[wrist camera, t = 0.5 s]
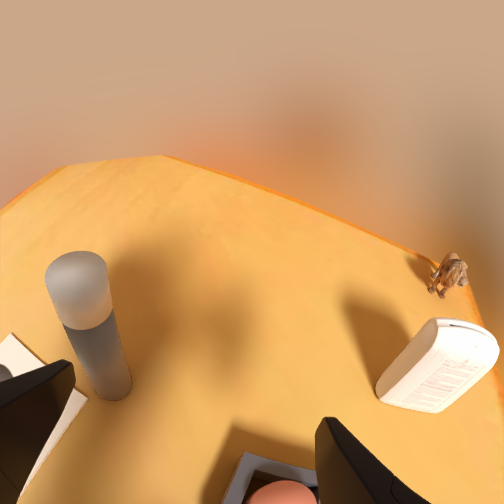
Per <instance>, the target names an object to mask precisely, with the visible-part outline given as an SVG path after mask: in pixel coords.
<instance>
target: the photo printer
mask: <svg viewBox="0 0 504 504" xmlns="http://www.w3.org/2000/svg"><path fill="white" fill-rule="evenodd" d="M498 354H499V347H498V345H497V341H496V339H495V338H494V337H493V335H492V334H490V333H489V332H488V331H487V330H485V329H484V328H482V327H480V326H478V325H476V324H474V323H471V322H468V321H465V320H461V319H455V318H446V317H439V318H431V319H430V320H428V321H427V322H426V323H425V324H424V325H423V327H422V328H421V329H420V330H419V332H418V333H417V334H416V335H415V337H414V338H413V339H412V340H411V341H410V343H409V344H408V345H407V346H406V347H405V349H404V350H403V351H402V352H401V353H400V354H399V355H398V357H397V358H396V359H395V360H394V361H393V362H392V363H391V364H390V366H389V367H388V368H387V369H386V370H385V371H384V372H383V373H382V375H381V378H380V379H379V380H378V381H377V383H376V388H375V390H376V394H377V396H378V398H380V401H382V402H385V403H387V404H390V405H394V406H398V407H403V408H407V409H412V410H417V411H422V412H428V413H439V412H441V411H442V410H444V409H445V408H446V407H448V406H449V405H450V404H451V403H453V402H454V401H455V400H456V399H458V398H459V397H460V396H461V395H462V394H464V393H465V392H466V391H467V390H468V389H469V388H470V387H472V386H473V385H474V384H475V383H476V382H477V381H478V380H479V379H480V378H482V377H483V376H484V375H485V374H486V373H487V372H488V371H489V370H490V369H491V368H492V367H493V365H494V364H495V362H496V360H497V358H498Z"/></svg>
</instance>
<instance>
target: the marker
mask: <svg viewBox="0 0 504 504" xmlns="http://www.w3.org/2000/svg"><path fill="white" fill-rule="evenodd" d="M45 283H46V286H47V289H48V292H49V295H50V297H51V300H52V303H53V305H54V308H55V310H56V313H57V315H58V318H59V320H60V321H61V322H62V324H63V326H64V329H65V331H66V333H67V336H68V338H69V340H70V342H71V344H72V347H73V349H74V351H75V353H76V355H77V357H78V359H79V361H80V363H81V365H82V367H83V369H84V371H85V373H86V375H87V376H88V378H89V380H90V382H91V384H92V386H93V387H94V389H95V391H96V393H97V394H98V395H99V396H100V397H102V398H103V399H106V400H109V401H117V400H121V399H123V398H125V397H126V396H127V395H128V394H129V393H130V391H131V388H132V379H131V376H130V372H129V369H128V366H127V362H126V359H125V355H124V352H123V348H122V345H121V341H120V337H119V333H118V329H117V325H116V321H115V316H114V312H113V308H112V307H113V301H112V296H111V291H110V285H109V280H108V274H107V268H106V264H105V261H104V260H103V259H102V258H101V257H100V256H99V255H97V254H95V253H92V252H88V251H75V252H70V253H67V254H64V255H62V256H60V257H58V258H57V259H56V260H54V261H53V262H52V263H51V264H50V265H49V267H48V268H47V270H46V273H45Z"/></svg>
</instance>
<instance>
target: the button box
mask: <svg viewBox="0 0 504 504" xmlns="http://www.w3.org/2000/svg"><path fill="white" fill-rule="evenodd" d="M252 476H253V477H257V478H260V479H264V480H267V481H271V482H277V481H283V480H288V481H295V482H298V483H300V484H303V485H304V486H306V487H307V488H308V489H309V490H310V491H311V492H312V493H313V495H314V496H315V499H316V502H317V504H320V497H319V490H318V484H317V477H316V471H314V470H309V469H305V468H301V467H296V466H292V465H288V464H285V463H281V462H277V461H274V460H270V459H267V458H263V457H260V456H257V455H254V454H251V453H248V452H244V453H243V455H242V456H241V457H240V459H239V461H238V463H237V465H236V468H235V470H234V473H233V475H232V477H231V480H230V482H229V484H228V487H227V489H226V491H225V493H224V496H223V498H222V500H221V502H220V504H241V503H242V500H243V498H244V495H245V493H246V490H247V488H248V485H249V483H250V480H251V478H252Z"/></svg>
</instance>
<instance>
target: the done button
mask: <svg viewBox="0 0 504 504" xmlns="http://www.w3.org/2000/svg"><path fill="white" fill-rule="evenodd" d="M245 504H317V502H316V499H315V496H314V495H313V493H312V492H311V491H310V490H309V489H308V488H307V487H306V486H304V485H303V484H300V483H298V482H295V481H288V480H283V481H277V482H273V483H270V484H268V485H266V486H264V487H262V488H260V489H258V490H256V491H255V492H253V493H252V494H251V495H250V496H249V497H248V498H247V500H246V501H245Z"/></svg>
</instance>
